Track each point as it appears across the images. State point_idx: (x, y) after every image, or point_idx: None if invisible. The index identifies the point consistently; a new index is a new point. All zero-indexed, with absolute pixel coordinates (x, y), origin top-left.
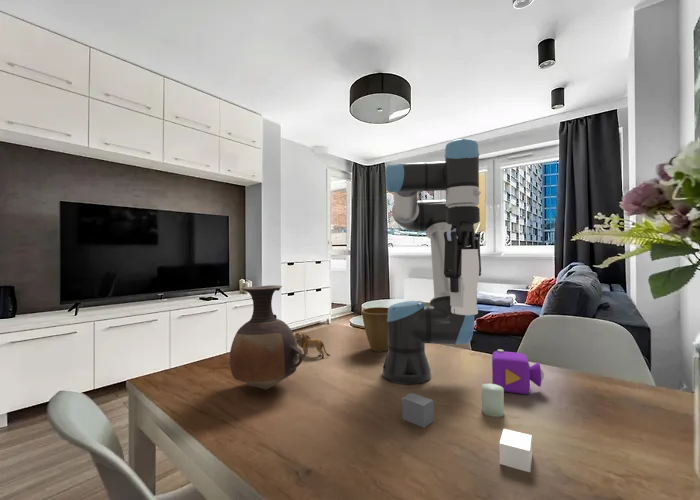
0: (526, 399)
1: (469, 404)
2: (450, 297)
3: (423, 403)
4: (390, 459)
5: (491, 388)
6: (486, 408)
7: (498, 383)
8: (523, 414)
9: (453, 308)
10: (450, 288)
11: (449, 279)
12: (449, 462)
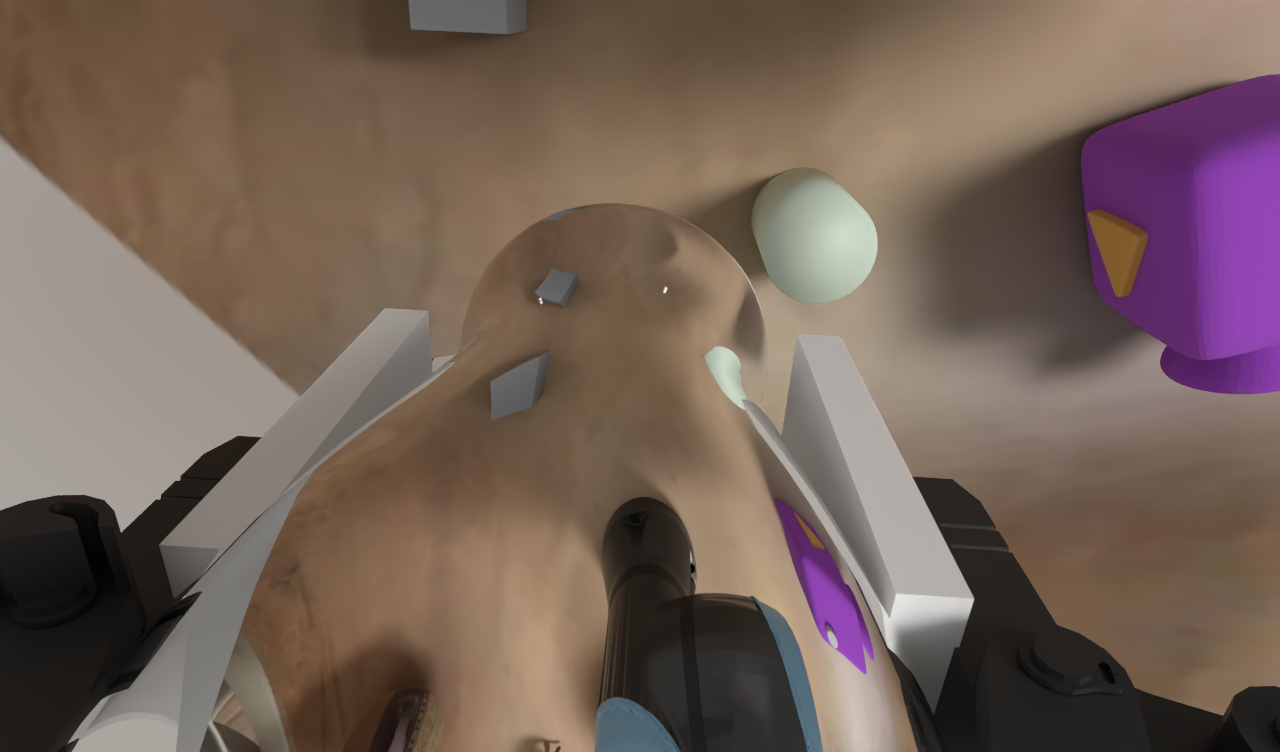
0: (1037, 297)
1: (819, 93)
2: (343, 357)
3: (431, 12)
4: (148, 52)
5: (803, 251)
6: (756, 211)
7: (1094, 170)
8: (854, 326)
9: (471, 301)
10: (191, 471)
11: (369, 420)
12: (313, 233)
